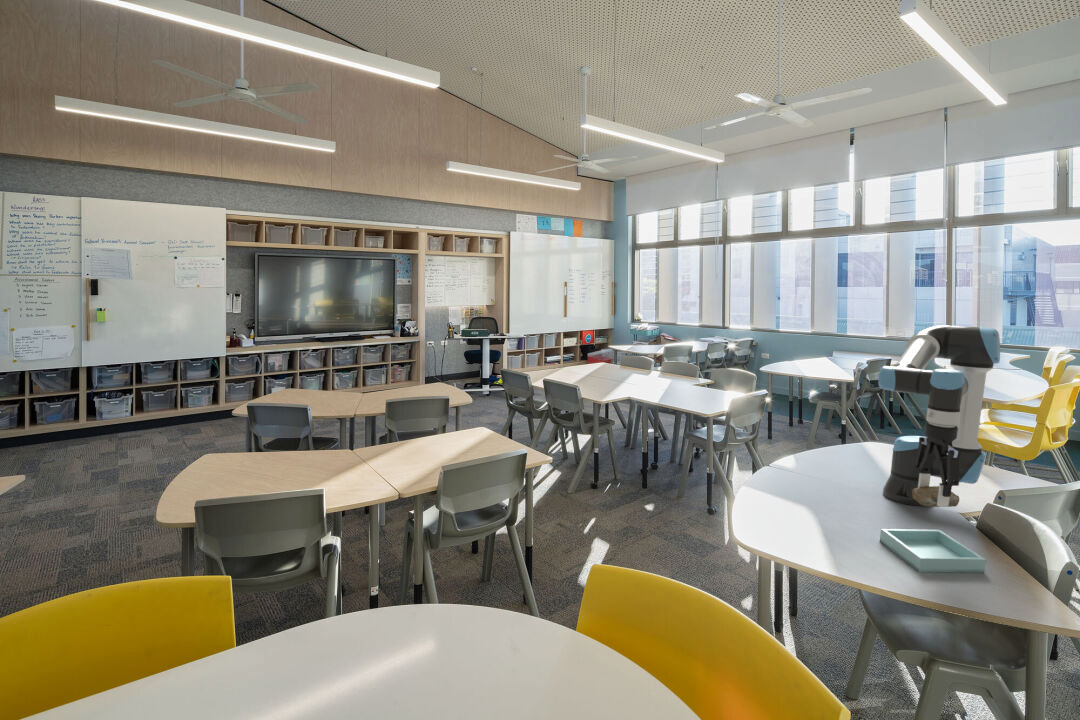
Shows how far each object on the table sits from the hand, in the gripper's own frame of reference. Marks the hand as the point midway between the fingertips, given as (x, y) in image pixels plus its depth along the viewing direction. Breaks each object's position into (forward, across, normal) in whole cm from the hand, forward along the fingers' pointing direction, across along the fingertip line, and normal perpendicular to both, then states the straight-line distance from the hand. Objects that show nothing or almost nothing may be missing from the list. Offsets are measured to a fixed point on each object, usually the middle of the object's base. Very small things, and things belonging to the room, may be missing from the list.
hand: (932, 500), depth 159 cm
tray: (+17, 0, +1) cm, 17 cm away
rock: (+1, 0, 0) cm, 1 cm away
